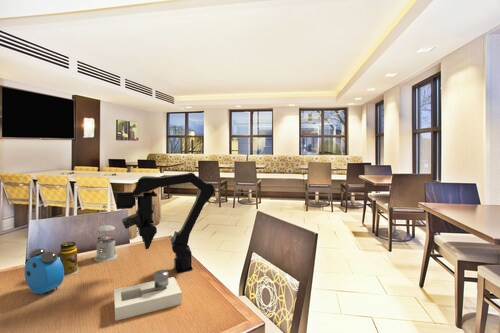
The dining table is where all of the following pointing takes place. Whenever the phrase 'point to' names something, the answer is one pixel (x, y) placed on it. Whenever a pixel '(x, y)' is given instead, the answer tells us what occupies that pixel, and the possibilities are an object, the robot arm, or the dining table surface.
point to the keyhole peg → (161, 279)
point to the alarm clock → (43, 271)
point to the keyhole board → (145, 298)
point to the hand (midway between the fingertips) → (145, 245)
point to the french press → (105, 244)
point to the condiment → (69, 258)
